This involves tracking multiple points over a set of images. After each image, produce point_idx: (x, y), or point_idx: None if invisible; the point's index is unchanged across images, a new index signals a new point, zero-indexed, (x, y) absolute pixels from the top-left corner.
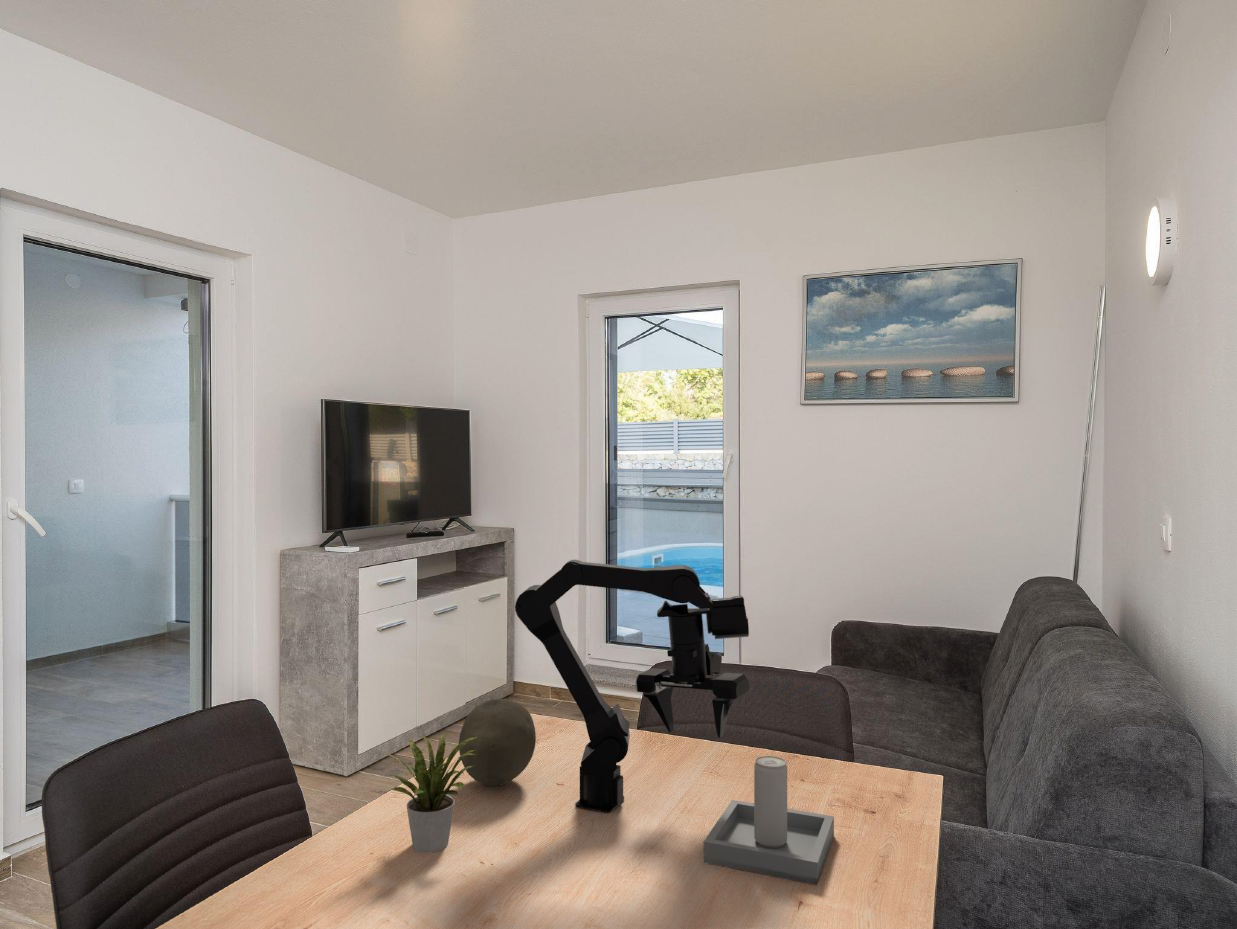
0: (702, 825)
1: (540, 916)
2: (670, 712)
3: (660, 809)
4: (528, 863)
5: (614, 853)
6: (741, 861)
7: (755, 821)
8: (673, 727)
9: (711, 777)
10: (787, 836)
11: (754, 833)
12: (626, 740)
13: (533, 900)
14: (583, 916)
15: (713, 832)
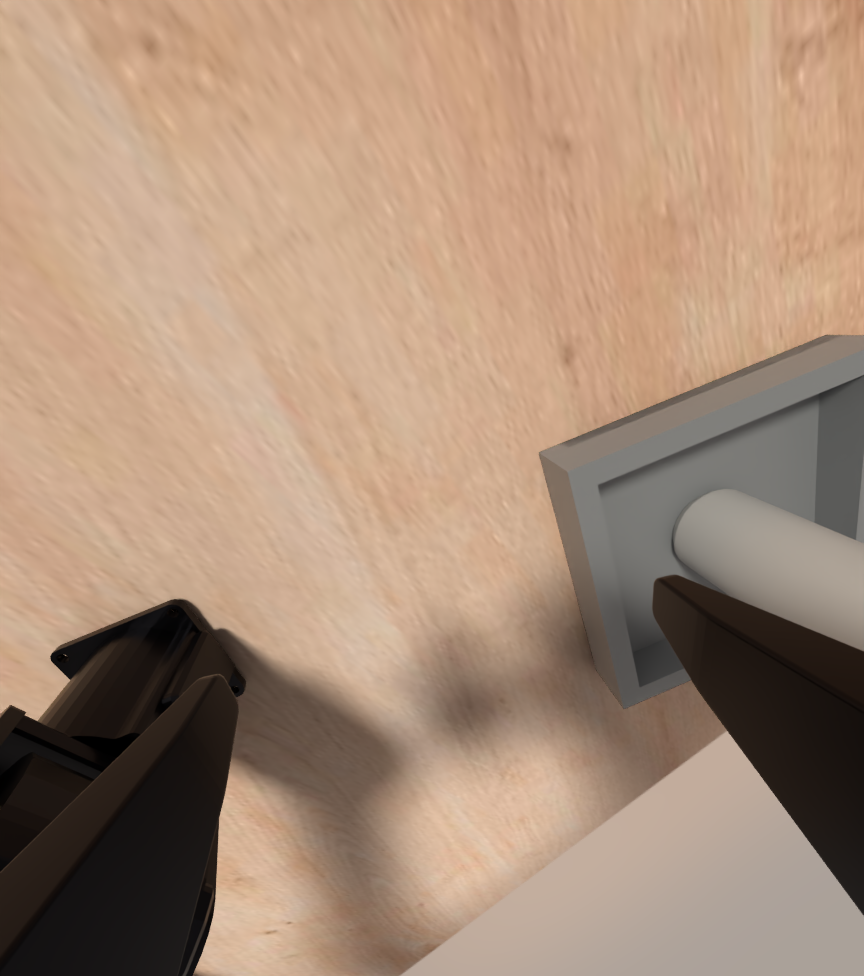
0: (494, 548)
1: (481, 909)
2: (121, 882)
3: (328, 561)
4: (334, 884)
5: (426, 768)
6: None
7: (723, 591)
8: (210, 693)
9: (217, 132)
10: (733, 466)
11: (685, 561)
12: (190, 954)
13: (441, 905)
14: (528, 873)
15: (623, 667)
